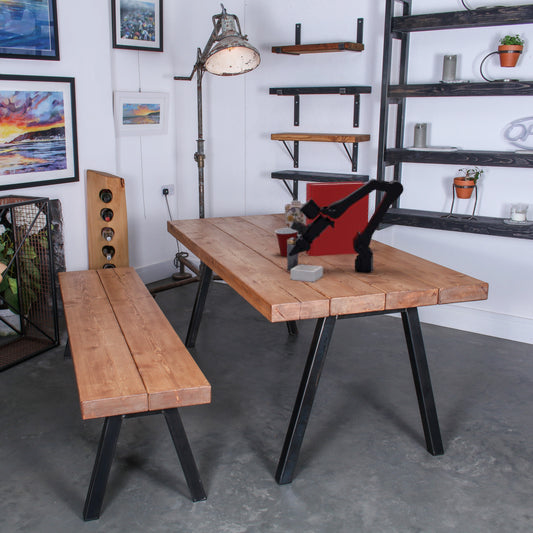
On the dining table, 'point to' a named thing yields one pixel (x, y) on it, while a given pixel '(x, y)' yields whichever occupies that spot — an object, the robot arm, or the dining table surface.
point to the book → (345, 225)
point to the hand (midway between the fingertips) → (289, 254)
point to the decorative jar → (294, 214)
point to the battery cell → (291, 260)
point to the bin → (306, 273)
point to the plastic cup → (284, 238)
